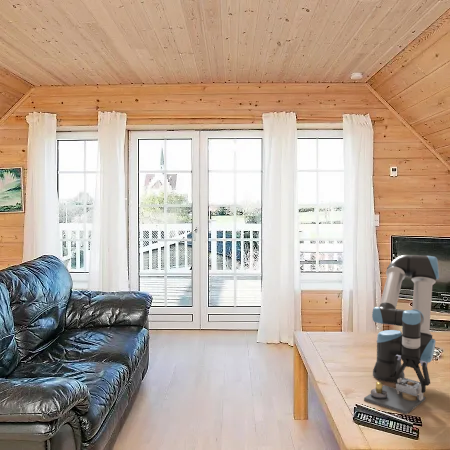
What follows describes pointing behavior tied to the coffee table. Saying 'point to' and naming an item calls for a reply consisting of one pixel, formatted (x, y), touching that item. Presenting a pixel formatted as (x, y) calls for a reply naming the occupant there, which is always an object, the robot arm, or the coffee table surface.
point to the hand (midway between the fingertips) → (409, 396)
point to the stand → (408, 396)
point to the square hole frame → (408, 387)
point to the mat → (395, 401)
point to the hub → (379, 392)
